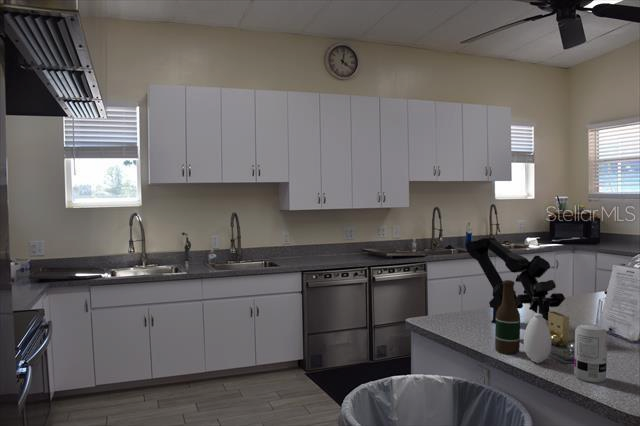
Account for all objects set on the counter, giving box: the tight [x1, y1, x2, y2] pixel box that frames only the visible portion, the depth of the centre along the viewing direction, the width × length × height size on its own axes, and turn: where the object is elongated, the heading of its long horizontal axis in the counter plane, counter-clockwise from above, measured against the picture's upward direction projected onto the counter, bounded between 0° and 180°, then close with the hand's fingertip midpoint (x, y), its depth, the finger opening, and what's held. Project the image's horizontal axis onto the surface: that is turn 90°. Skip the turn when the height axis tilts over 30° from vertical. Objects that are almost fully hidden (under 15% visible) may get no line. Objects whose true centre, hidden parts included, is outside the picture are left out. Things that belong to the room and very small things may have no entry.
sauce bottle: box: [523, 306, 551, 364], centre depth 161 cm, size 8×8×18 cm
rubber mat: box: [520, 338, 574, 365], centre depth 173 cm, size 26×15×1 cm, turn 11°
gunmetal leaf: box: [551, 341, 575, 361], centre depth 165 cm, size 7×9×4 cm
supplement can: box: [573, 323, 608, 384], centre depth 147 cm, size 8×8×15 cm
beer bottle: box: [494, 279, 521, 355], centre depth 171 cm, size 8×8×24 cm
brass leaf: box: [547, 311, 570, 346], centre depth 180 cm, size 8×6×10 cm
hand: (548, 320), depth 185 cm, fingers closed
